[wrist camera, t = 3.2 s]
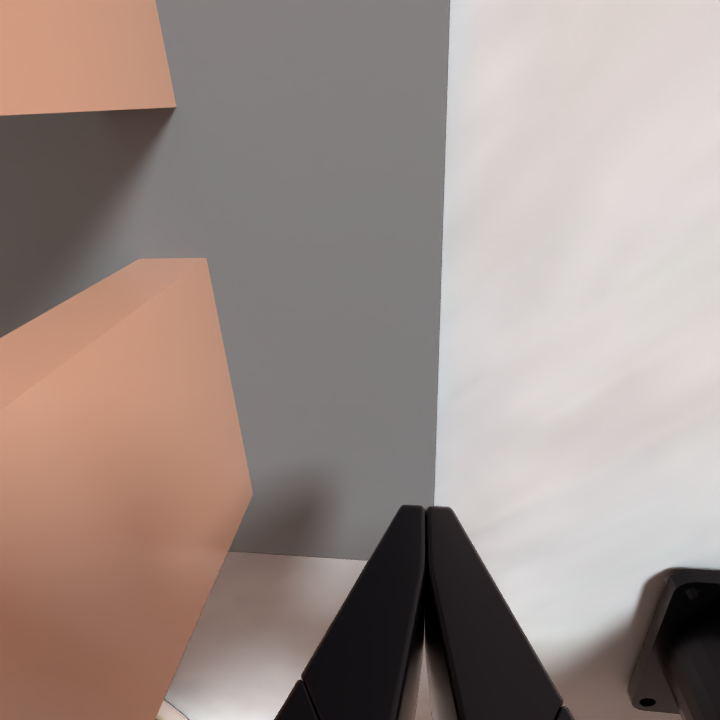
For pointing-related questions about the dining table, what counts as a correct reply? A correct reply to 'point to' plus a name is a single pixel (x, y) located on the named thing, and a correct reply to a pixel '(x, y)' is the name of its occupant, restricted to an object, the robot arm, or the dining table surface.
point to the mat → (272, 239)
